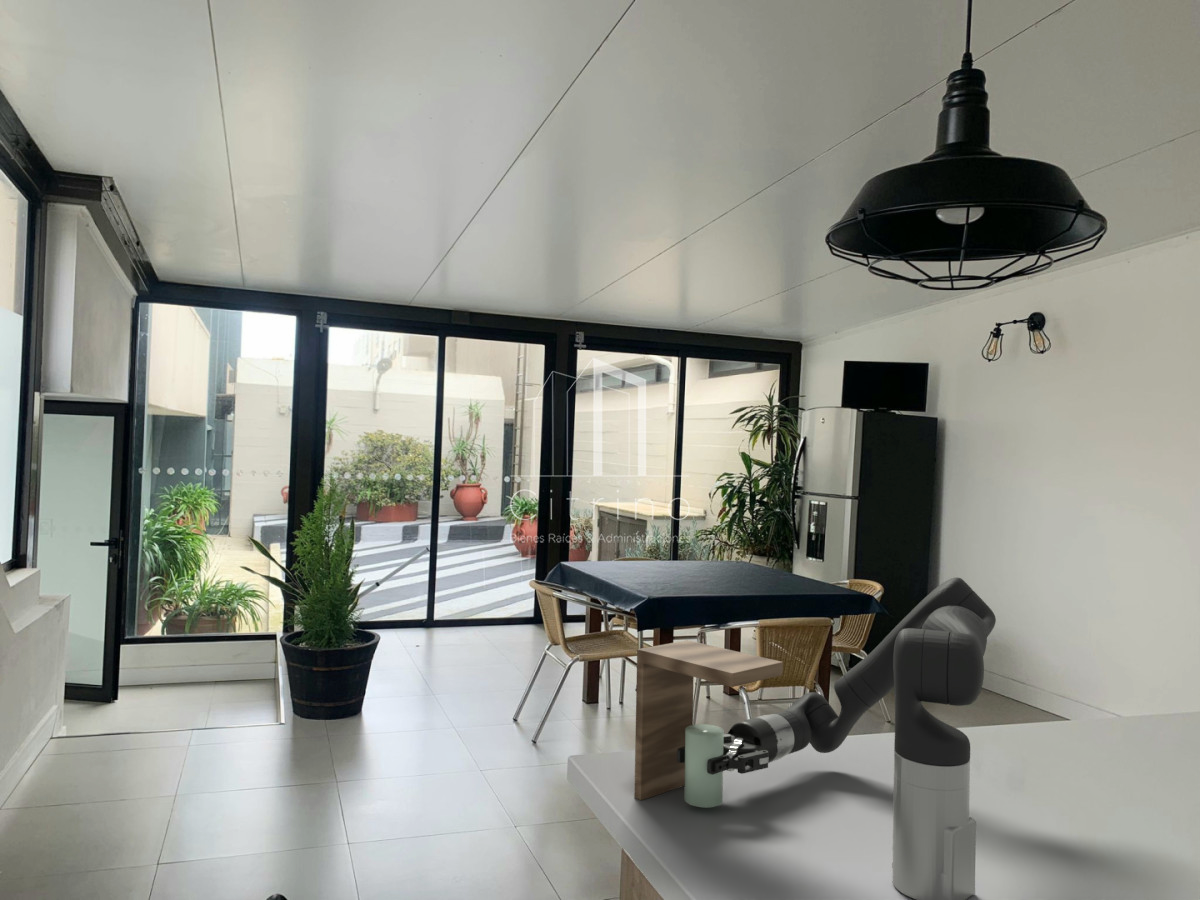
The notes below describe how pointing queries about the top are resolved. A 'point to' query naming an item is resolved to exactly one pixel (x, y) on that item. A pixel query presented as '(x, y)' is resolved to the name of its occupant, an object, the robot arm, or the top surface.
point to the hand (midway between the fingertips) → (693, 761)
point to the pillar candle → (703, 765)
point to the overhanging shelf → (680, 703)
